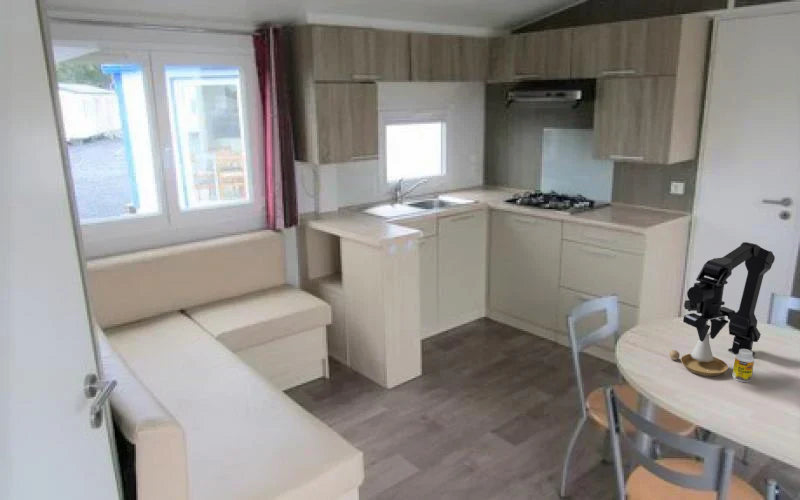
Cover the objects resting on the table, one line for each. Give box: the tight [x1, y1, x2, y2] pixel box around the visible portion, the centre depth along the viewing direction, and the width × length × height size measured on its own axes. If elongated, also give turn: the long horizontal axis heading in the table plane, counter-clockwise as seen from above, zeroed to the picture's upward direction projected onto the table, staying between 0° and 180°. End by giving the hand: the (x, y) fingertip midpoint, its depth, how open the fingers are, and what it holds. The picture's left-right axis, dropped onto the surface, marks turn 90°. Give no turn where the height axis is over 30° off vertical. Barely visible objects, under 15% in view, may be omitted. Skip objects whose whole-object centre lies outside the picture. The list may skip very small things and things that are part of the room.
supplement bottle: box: [731, 349, 755, 383], centre depth 196 cm, size 6×6×10 cm
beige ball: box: [668, 349, 681, 361], centre depth 212 cm, size 4×4×4 cm
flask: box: [689, 331, 714, 362], centre depth 207 cm, size 7×7×10 cm
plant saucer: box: [680, 353, 729, 377], centre depth 205 cm, size 15×15×3 cm
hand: (706, 339), depth 203 cm, fingers open, 5 cm apart
